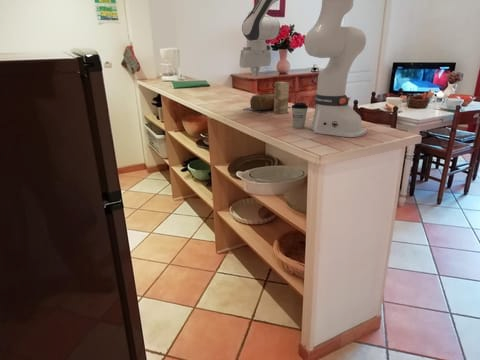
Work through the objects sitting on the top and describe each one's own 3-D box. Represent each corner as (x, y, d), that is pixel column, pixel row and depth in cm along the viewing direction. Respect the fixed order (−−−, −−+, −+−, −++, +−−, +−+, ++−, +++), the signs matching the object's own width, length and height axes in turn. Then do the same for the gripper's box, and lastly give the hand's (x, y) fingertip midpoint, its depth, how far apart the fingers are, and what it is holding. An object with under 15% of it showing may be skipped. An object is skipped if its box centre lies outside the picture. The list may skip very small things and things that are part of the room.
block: (249, 94, 180) (278, 92, 191) (248, 109, 183) (277, 106, 193) (261, 97, 172) (291, 94, 182) (261, 112, 174) (290, 109, 185)
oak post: (287, 112, 176) (289, 82, 171) (280, 113, 173) (281, 83, 168) (280, 111, 180) (281, 81, 174) (273, 112, 177) (274, 82, 171)
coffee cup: (295, 124, 151) (296, 101, 148) (309, 126, 147) (311, 103, 143) (287, 127, 146) (288, 103, 143) (301, 130, 142) (303, 105, 138)
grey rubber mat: (289, 107, 189) (289, 107, 189) (266, 113, 175) (266, 112, 175) (267, 104, 199) (267, 103, 199) (243, 109, 185) (243, 108, 185)
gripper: (246, 47, 159) (246, 78, 165) (273, 46, 173) (272, 75, 178) (236, 47, 163) (236, 77, 169) (263, 46, 177) (263, 74, 182)
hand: (255, 76), depth 174 cm, fingers closed
